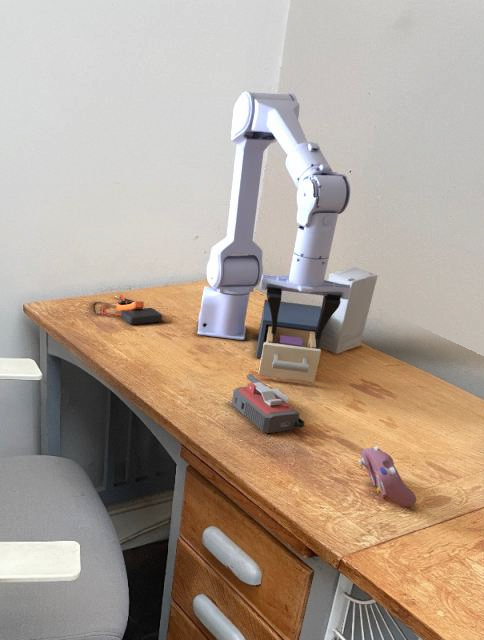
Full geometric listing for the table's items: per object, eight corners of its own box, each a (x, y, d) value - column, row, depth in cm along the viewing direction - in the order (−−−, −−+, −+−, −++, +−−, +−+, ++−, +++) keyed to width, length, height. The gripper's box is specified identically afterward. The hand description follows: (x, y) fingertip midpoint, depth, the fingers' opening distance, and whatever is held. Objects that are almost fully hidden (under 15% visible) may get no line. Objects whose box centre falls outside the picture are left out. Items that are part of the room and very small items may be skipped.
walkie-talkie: (314, 432, 124) (252, 381, 139) (320, 406, 121) (256, 358, 137) (266, 438, 121) (208, 386, 136) (271, 412, 118) (211, 362, 134)
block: (276, 363, 142) (280, 342, 140) (276, 355, 145) (280, 335, 143) (298, 366, 141) (302, 345, 139) (298, 358, 145) (302, 337, 143)
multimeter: (80, 299, 172) (80, 283, 170) (130, 296, 176) (131, 281, 174) (109, 327, 158) (110, 310, 156) (162, 323, 162) (164, 307, 160)
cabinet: (314, 365, 148) (323, 327, 143) (256, 358, 149) (262, 319, 145) (313, 343, 158) (321, 306, 154) (258, 336, 159) (264, 299, 155)
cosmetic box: (337, 338, 161) (353, 265, 153) (361, 347, 158) (379, 273, 150) (311, 345, 157) (327, 271, 149) (336, 355, 153) (353, 279, 145)
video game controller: (361, 481, 114) (351, 443, 111) (391, 470, 114) (382, 431, 110) (387, 519, 106) (376, 479, 102) (419, 506, 105) (410, 466, 102)
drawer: (314, 393, 134) (321, 361, 131) (257, 385, 136) (262, 354, 132) (312, 359, 148) (318, 329, 145) (260, 352, 149) (265, 323, 146)
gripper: (265, 255, 124) (252, 337, 131) (358, 266, 122) (339, 348, 129) (266, 244, 130) (253, 323, 137) (355, 254, 128) (337, 334, 135)
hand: (295, 334), depth 134 cm, fingers open, 7 cm apart
